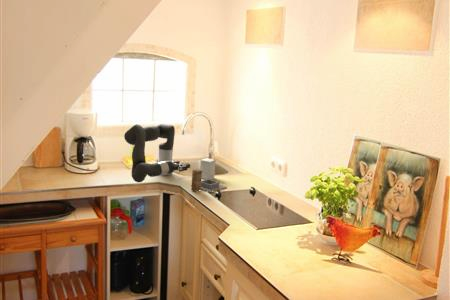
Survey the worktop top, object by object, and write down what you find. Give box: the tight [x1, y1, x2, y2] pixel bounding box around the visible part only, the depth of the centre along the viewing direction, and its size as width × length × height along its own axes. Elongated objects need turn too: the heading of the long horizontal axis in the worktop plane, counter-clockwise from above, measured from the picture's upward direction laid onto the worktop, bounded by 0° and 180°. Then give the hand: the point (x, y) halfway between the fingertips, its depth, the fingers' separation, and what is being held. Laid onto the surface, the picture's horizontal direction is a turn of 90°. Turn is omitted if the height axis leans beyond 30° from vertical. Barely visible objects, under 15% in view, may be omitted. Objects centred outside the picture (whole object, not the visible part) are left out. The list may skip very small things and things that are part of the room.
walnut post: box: [190, 168, 202, 192], centre depth 283 cm, size 4×4×13 cm
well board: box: [190, 179, 228, 193], centre depth 293 cm, size 16×16×3 cm
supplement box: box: [199, 157, 216, 180], centre depth 311 cm, size 7×7×13 cm
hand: (184, 164), depth 271 cm, fingers open, 8 cm apart
